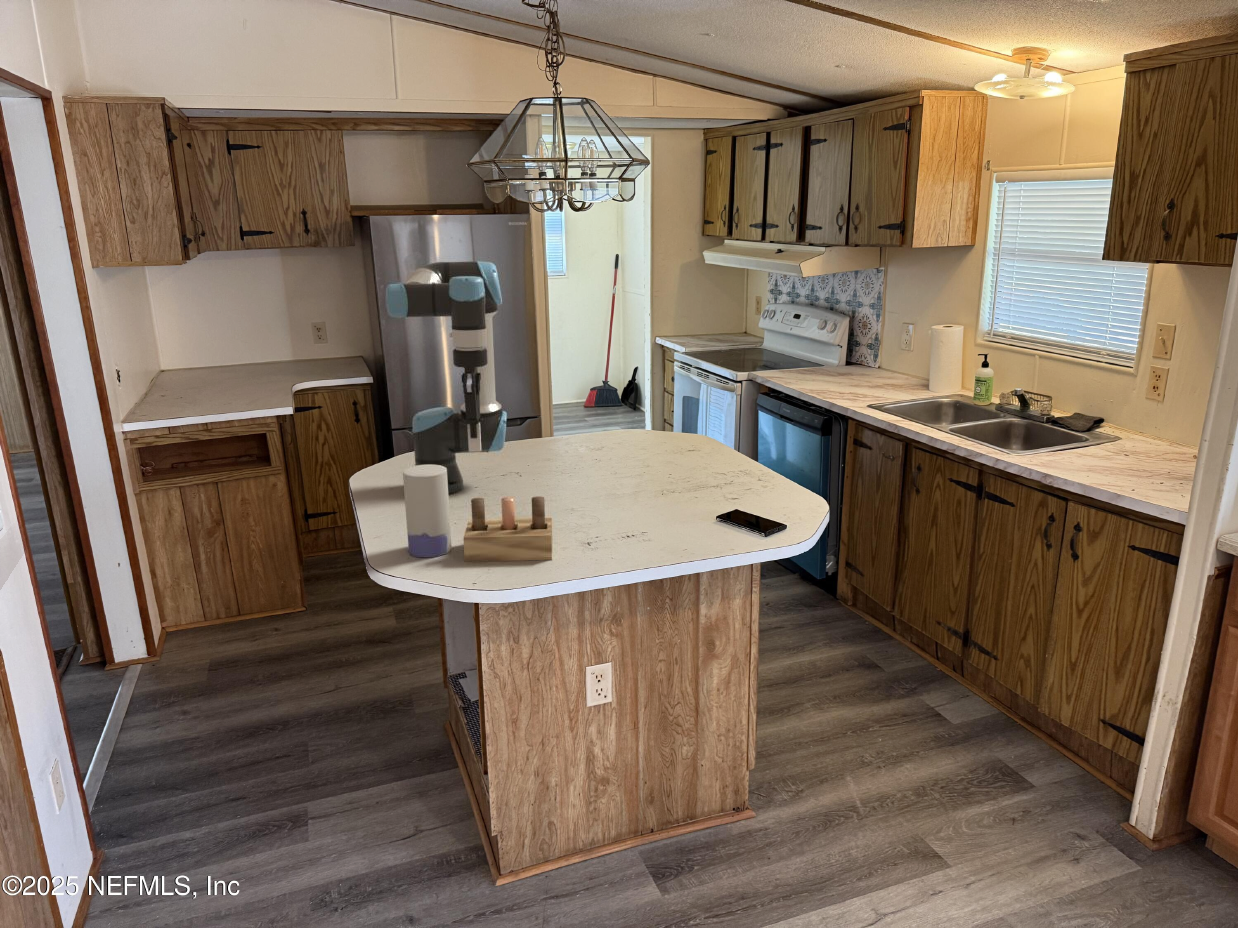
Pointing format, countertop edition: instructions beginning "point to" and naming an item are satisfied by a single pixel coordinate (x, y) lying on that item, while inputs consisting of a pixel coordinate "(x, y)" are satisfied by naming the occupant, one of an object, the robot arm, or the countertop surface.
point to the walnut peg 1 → (478, 514)
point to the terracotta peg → (508, 513)
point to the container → (427, 510)
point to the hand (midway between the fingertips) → (475, 450)
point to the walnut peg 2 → (538, 513)
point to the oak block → (508, 541)
